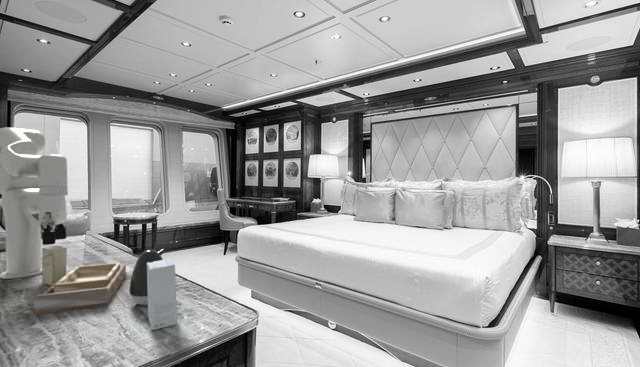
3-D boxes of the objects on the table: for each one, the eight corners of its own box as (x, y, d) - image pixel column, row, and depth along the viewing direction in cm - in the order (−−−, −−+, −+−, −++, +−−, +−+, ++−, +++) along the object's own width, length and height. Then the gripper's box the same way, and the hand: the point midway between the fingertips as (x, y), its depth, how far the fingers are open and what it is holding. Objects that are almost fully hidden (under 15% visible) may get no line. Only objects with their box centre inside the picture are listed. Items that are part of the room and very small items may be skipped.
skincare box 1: (41, 283, 106) (40, 247, 106) (56, 279, 110) (56, 245, 110) (52, 285, 104) (52, 249, 103) (67, 281, 108) (67, 246, 108)
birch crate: (76, 277, 108) (76, 266, 108) (120, 273, 113) (120, 262, 113) (53, 298, 90) (53, 285, 90) (107, 292, 95) (107, 279, 95)
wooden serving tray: (72, 281, 108) (71, 266, 108) (125, 275, 115) (125, 261, 115) (34, 315, 82) (34, 296, 82) (106, 305, 88) (106, 288, 88)
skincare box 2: (177, 325, 77) (177, 265, 76) (149, 331, 74) (149, 269, 73) (172, 312, 84) (171, 257, 83) (146, 318, 80) (146, 260, 80)
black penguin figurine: (178, 297, 94) (177, 247, 94) (148, 311, 84) (148, 255, 84) (151, 293, 98) (151, 244, 97) (121, 306, 88) (120, 252, 87)
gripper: (49, 191, 113) (51, 238, 113) (27, 192, 97) (28, 247, 97) (75, 190, 116) (76, 236, 116) (57, 191, 100) (59, 245, 100)
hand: (54, 241), depth 106 cm, fingers open, 9 cm apart
